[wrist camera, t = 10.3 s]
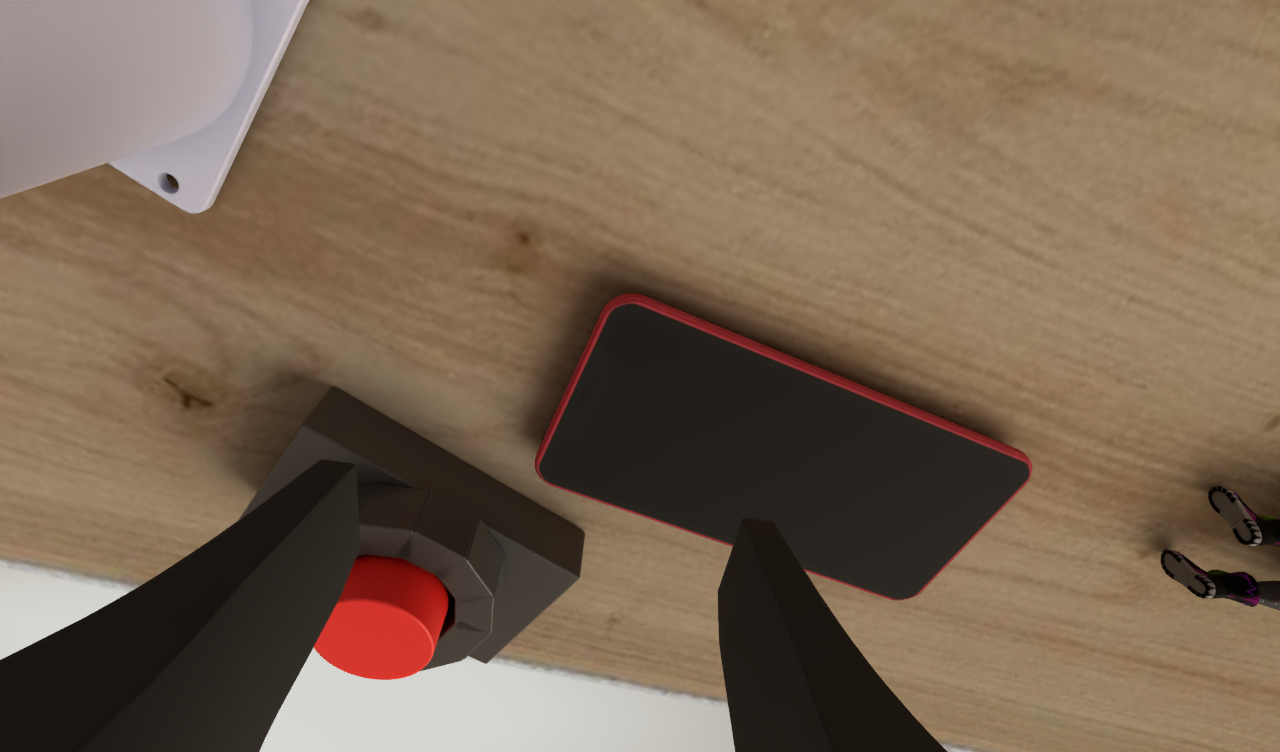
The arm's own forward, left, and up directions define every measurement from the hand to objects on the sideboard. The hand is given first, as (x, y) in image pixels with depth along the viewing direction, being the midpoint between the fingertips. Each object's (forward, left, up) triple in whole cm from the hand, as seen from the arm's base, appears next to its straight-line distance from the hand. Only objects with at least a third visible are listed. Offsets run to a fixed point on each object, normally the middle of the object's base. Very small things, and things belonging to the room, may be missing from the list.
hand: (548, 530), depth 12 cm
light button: (0, -10, -5) cm, 11 cm away
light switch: (0, -10, -9) cm, 13 cm away
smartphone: (+8, 0, -9) cm, 12 cm away
